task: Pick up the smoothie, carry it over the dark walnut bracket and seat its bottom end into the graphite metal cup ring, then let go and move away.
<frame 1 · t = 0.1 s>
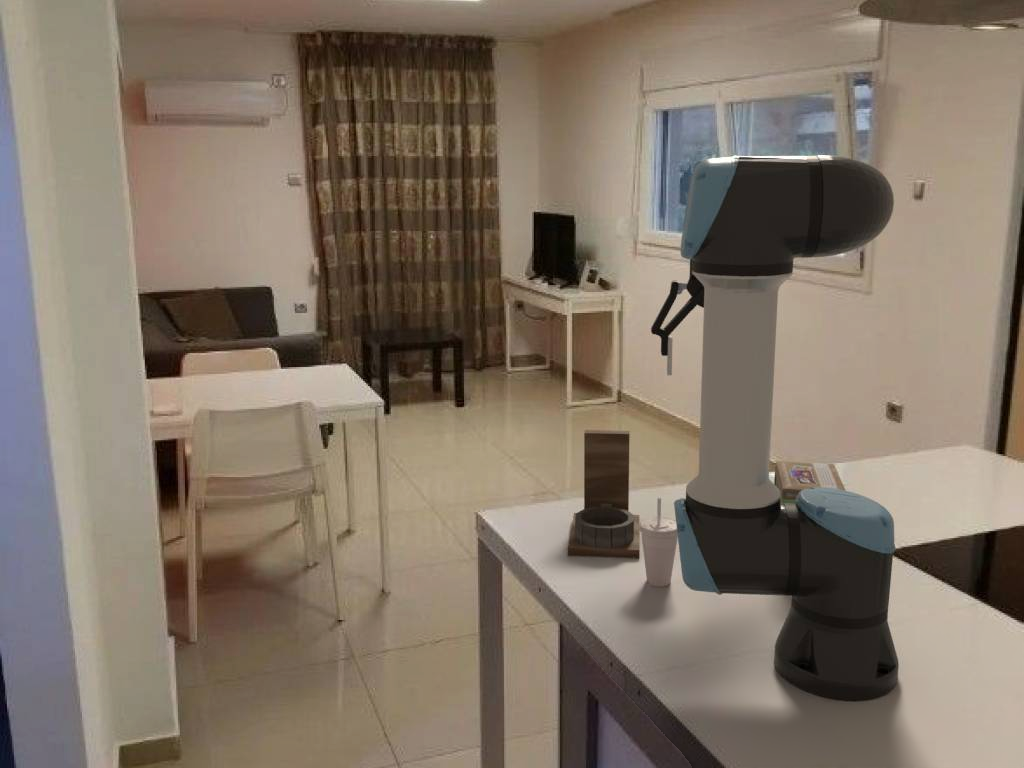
hand: (708, 374, 163), 28 cm above the counter, fingers open, 13 cm apart
smoothie: (658, 582, 146), on the counter
tea box: (803, 560, 153), on the counter
cup bracket: (604, 544, 161), on the counter
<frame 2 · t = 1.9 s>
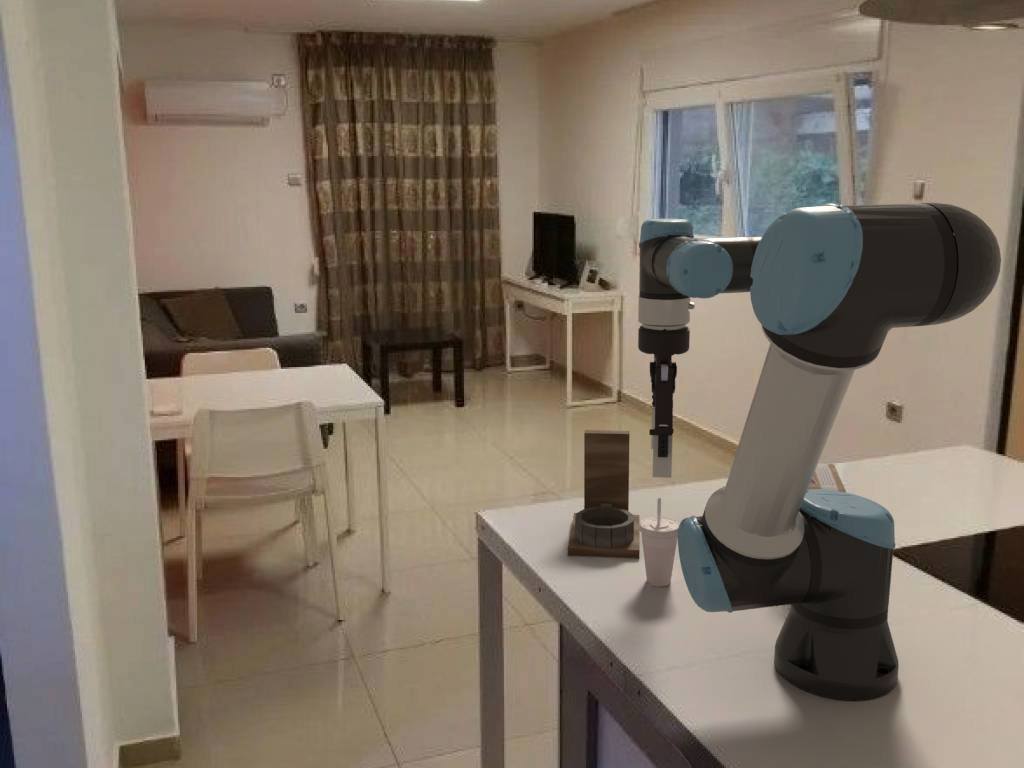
hand: (660, 462, 142), 20 cm above the counter, fingers open, 13 cm apart
nothing on the counter moved.
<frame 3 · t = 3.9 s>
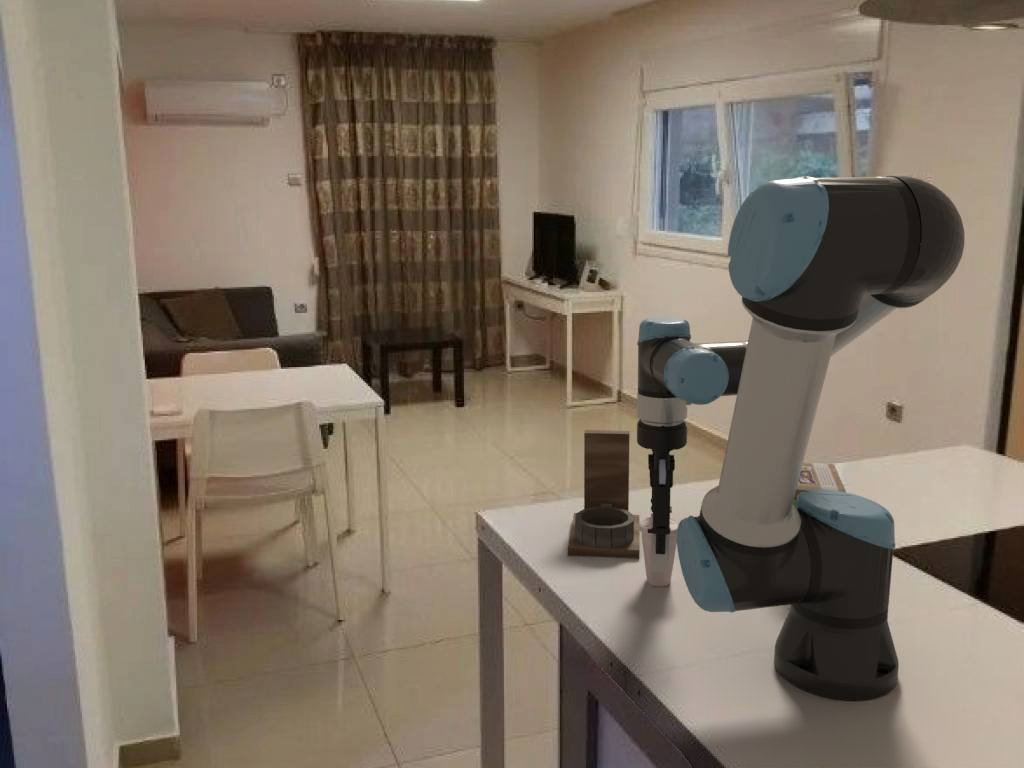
hand: (659, 561, 145), 3 cm above the counter, fingers closed on smoothie, 6 cm apart
smoothie: (658, 582, 146), on the counter, touching gripper
everything else where it was.
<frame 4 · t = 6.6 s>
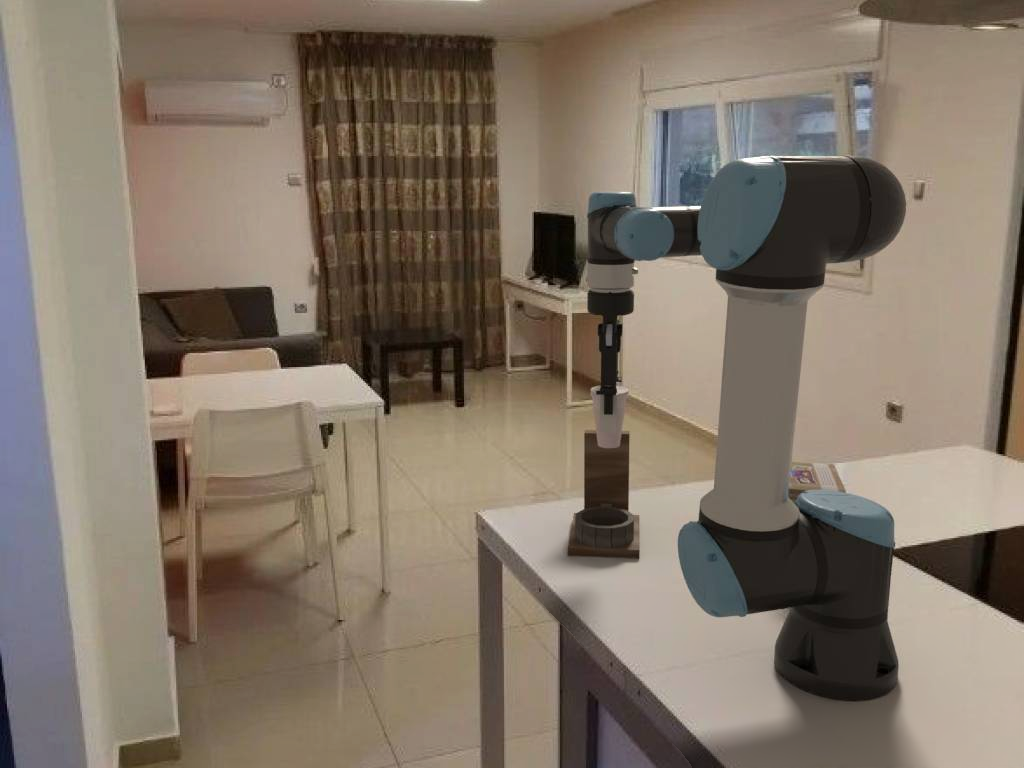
hand: (608, 425, 155), 22 cm above the counter, fingers closed on smoothie, 6 cm apart
smoothie: (608, 446, 156), point 18 cm above the counter, touching gripper
everything else where it was.
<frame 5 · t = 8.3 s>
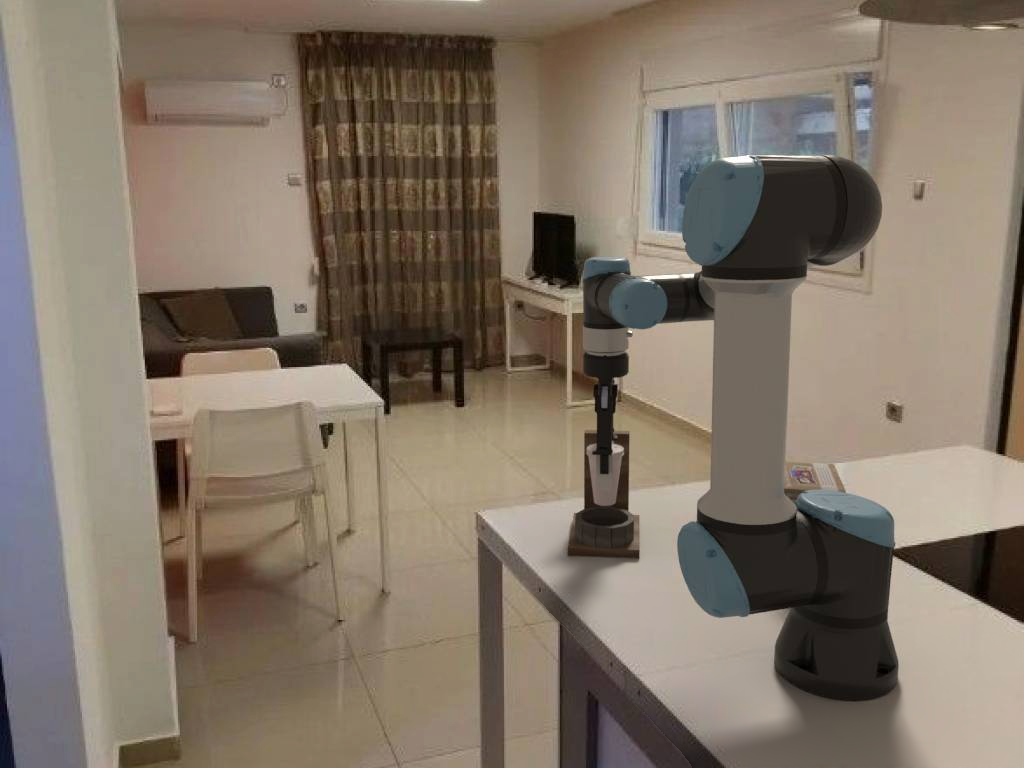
hand: (604, 483, 158), 11 cm above the counter, fingers closed on smoothie, 6 cm apart
smoothie: (604, 503, 159), point 8 cm above the counter, touching gripper
everything else where it was.
when the fingers open (7 cm above the counter, at t = 9.6 s): smoothie drops 2 cm, resting on cup bracket.
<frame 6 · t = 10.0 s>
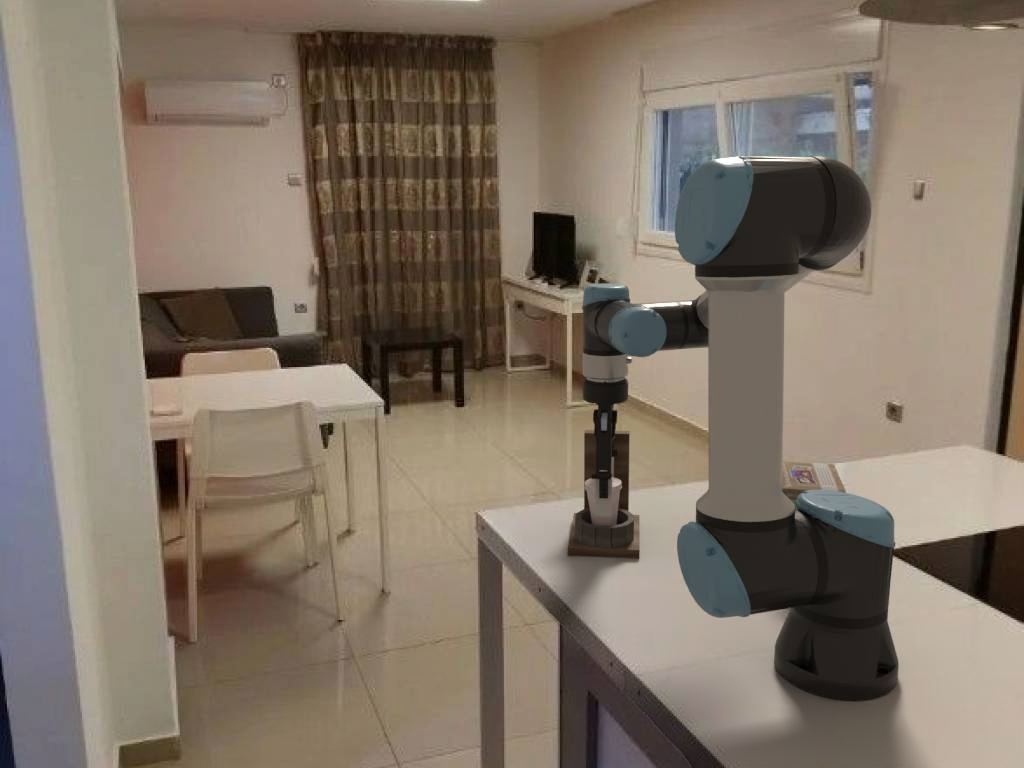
hand: (604, 503, 158), 8 cm above the counter, fingers open, 10 cm apart
smoothie: (604, 536, 160), point 1 cm above the counter, touching cup bracket
everything else where it was.
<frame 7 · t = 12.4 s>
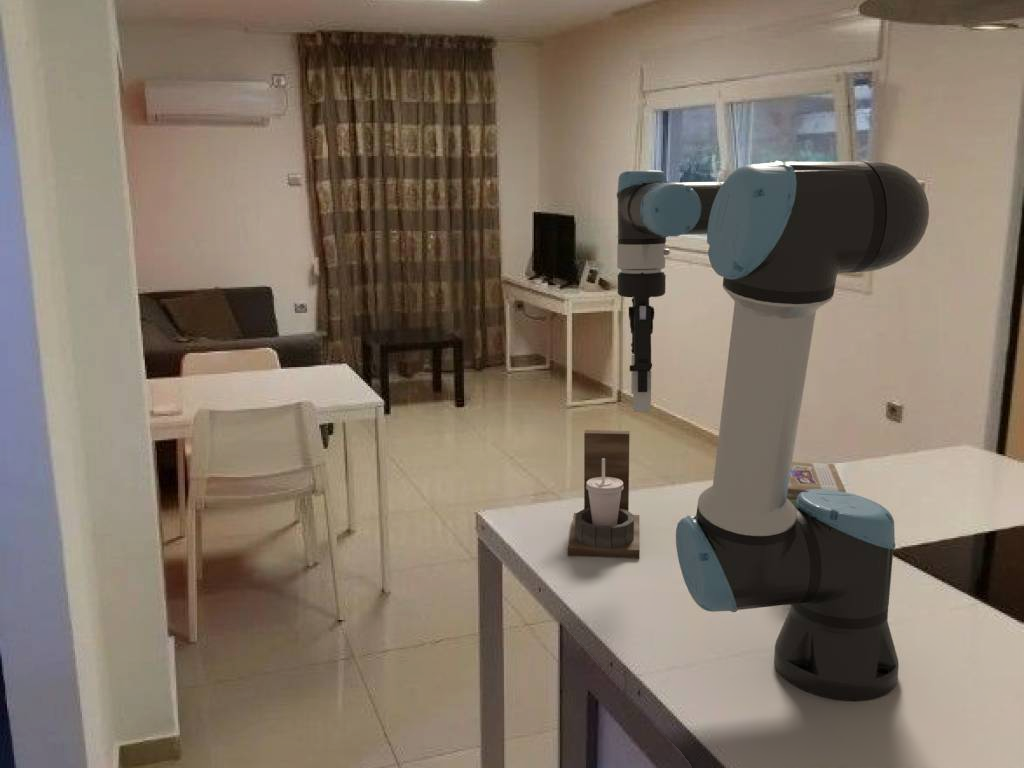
hand: (640, 402, 150), 26 cm above the counter, fingers open, 13 cm apart
nothing on the counter moved.
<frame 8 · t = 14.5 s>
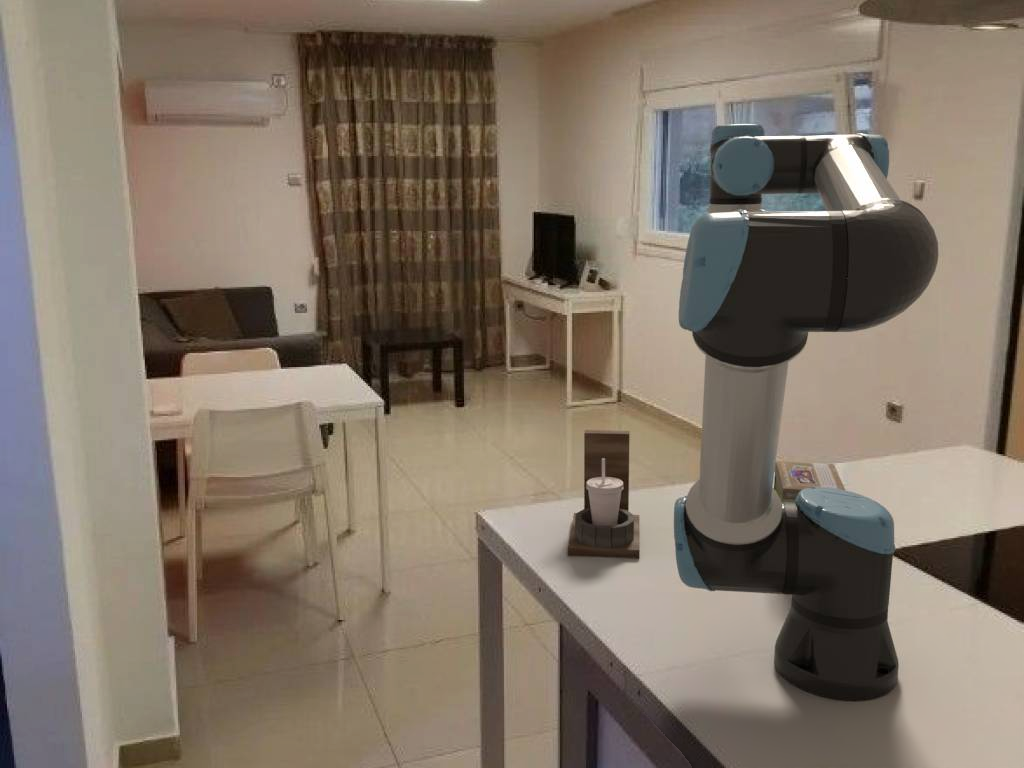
hand: (728, 374, 141), 33 cm above the counter, fingers open, 13 cm apart
nothing on the counter moved.
at the end: smoothie 0.1 cm off-centre on the cup bracket, point 1.4 cm above the cup bracket's base; smoothie tilted 1°; the gripper is holding nothing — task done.
